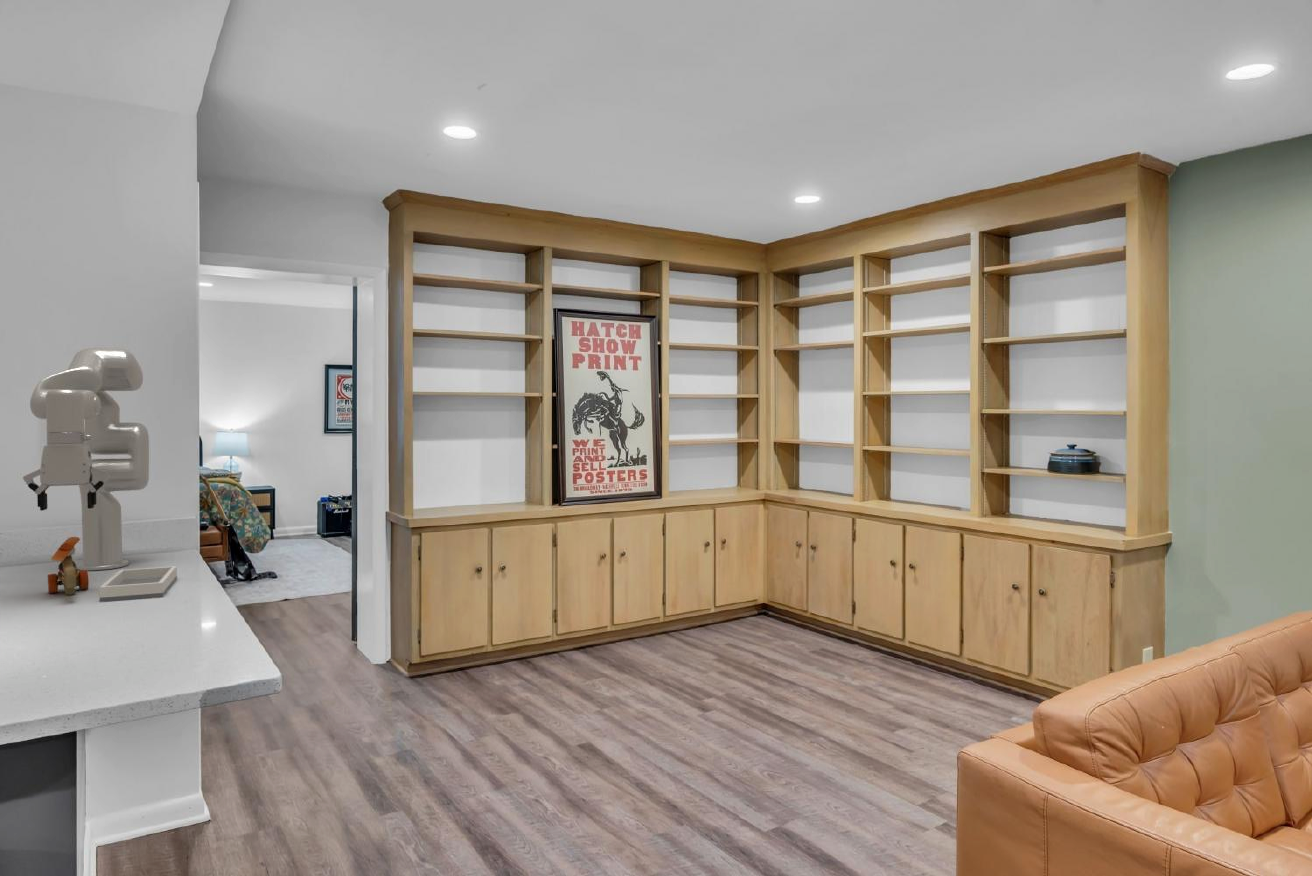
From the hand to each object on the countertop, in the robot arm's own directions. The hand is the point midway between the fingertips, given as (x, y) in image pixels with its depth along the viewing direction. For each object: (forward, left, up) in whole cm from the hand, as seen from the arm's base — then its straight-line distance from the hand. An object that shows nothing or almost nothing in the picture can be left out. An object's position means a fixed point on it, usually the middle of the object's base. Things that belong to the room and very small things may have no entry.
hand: (67, 508), depth 200 cm
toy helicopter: (0, 0, -22) cm, 22 cm away
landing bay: (0, +15, -22) cm, 26 cm away
